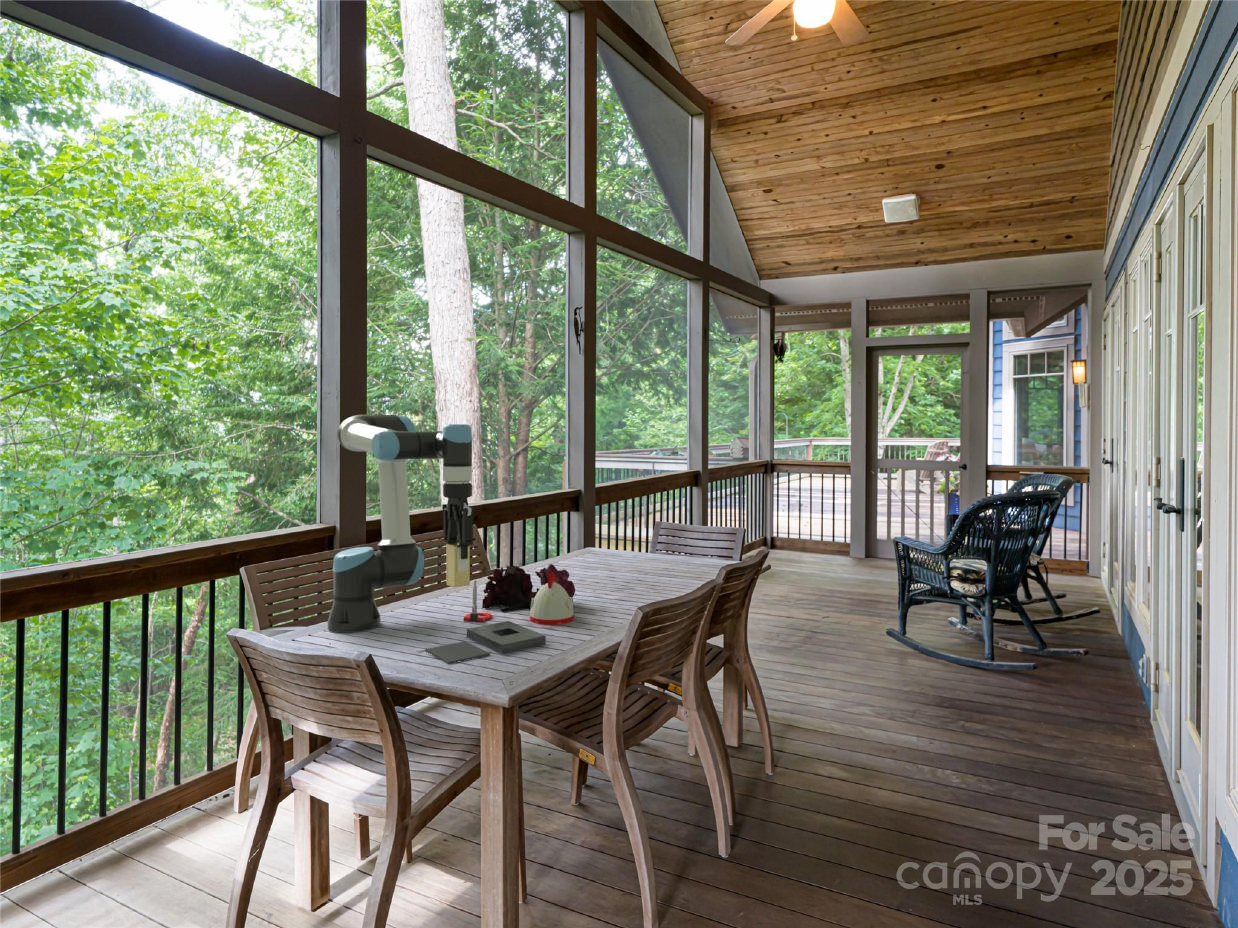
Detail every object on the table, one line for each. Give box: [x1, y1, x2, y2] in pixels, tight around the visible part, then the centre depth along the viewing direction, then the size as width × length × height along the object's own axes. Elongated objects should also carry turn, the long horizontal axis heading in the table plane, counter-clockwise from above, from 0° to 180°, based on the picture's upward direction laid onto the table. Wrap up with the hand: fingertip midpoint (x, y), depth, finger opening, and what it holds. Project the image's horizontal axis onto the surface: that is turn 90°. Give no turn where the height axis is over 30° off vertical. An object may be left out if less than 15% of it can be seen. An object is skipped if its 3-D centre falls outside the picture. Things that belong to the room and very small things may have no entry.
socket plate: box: [466, 620, 547, 655], centre depth 205 cm, size 20×14×2 cm
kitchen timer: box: [529, 572, 575, 626], centre depth 229 cm, size 14×14×15 cm
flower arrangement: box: [481, 563, 576, 613], centre depth 246 cm, size 31×20×15 cm, turn 83°
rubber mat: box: [424, 640, 491, 665], centre depth 194 cm, size 14×12×1 cm
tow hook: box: [463, 579, 493, 623], centre depth 230 cm, size 8×13×9 cm
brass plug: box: [445, 543, 471, 588], centre depth 193 cm, size 4×4×11 cm
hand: (458, 569), depth 193 cm, fingers closed on brass plug, 4 cm apart
